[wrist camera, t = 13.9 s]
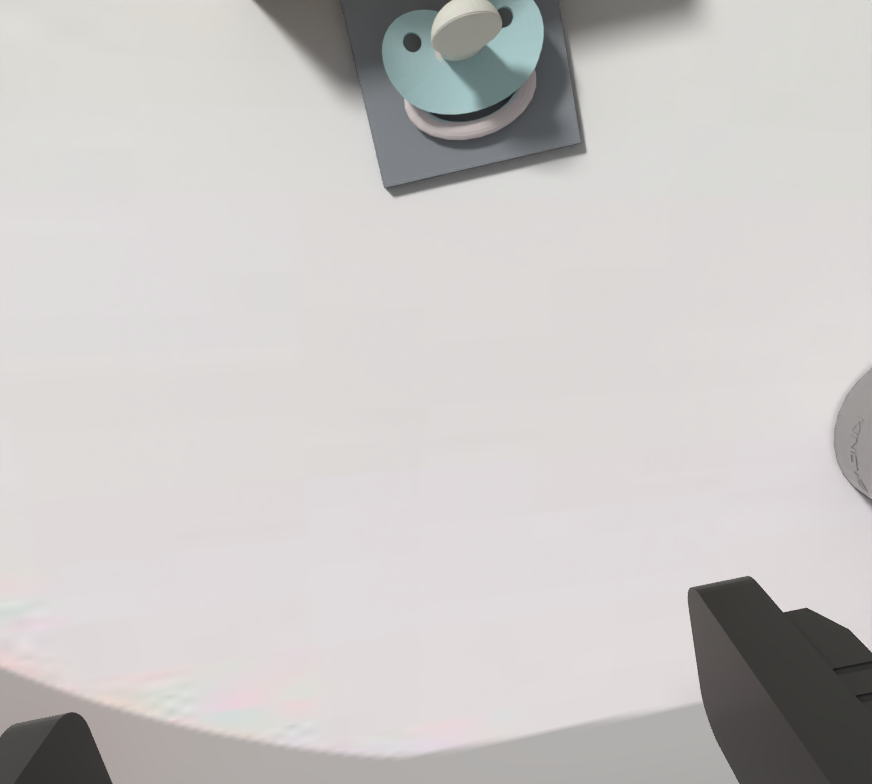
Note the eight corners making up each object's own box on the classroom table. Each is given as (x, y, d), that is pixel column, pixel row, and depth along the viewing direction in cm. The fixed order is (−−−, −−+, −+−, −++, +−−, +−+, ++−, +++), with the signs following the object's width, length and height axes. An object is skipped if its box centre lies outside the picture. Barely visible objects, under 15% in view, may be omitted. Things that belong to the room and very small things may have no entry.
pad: (542, -78, 34) (545, -83, 33) (578, 143, 36) (580, 142, 36) (335, -27, 34) (333, -31, 33) (384, 187, 37) (384, 187, 36)
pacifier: (551, 118, 35) (525, -14, 34) (578, 107, 29) (549, -54, 28) (407, 157, 36) (374, 27, 34) (405, 153, 30) (366, -4, 28)
